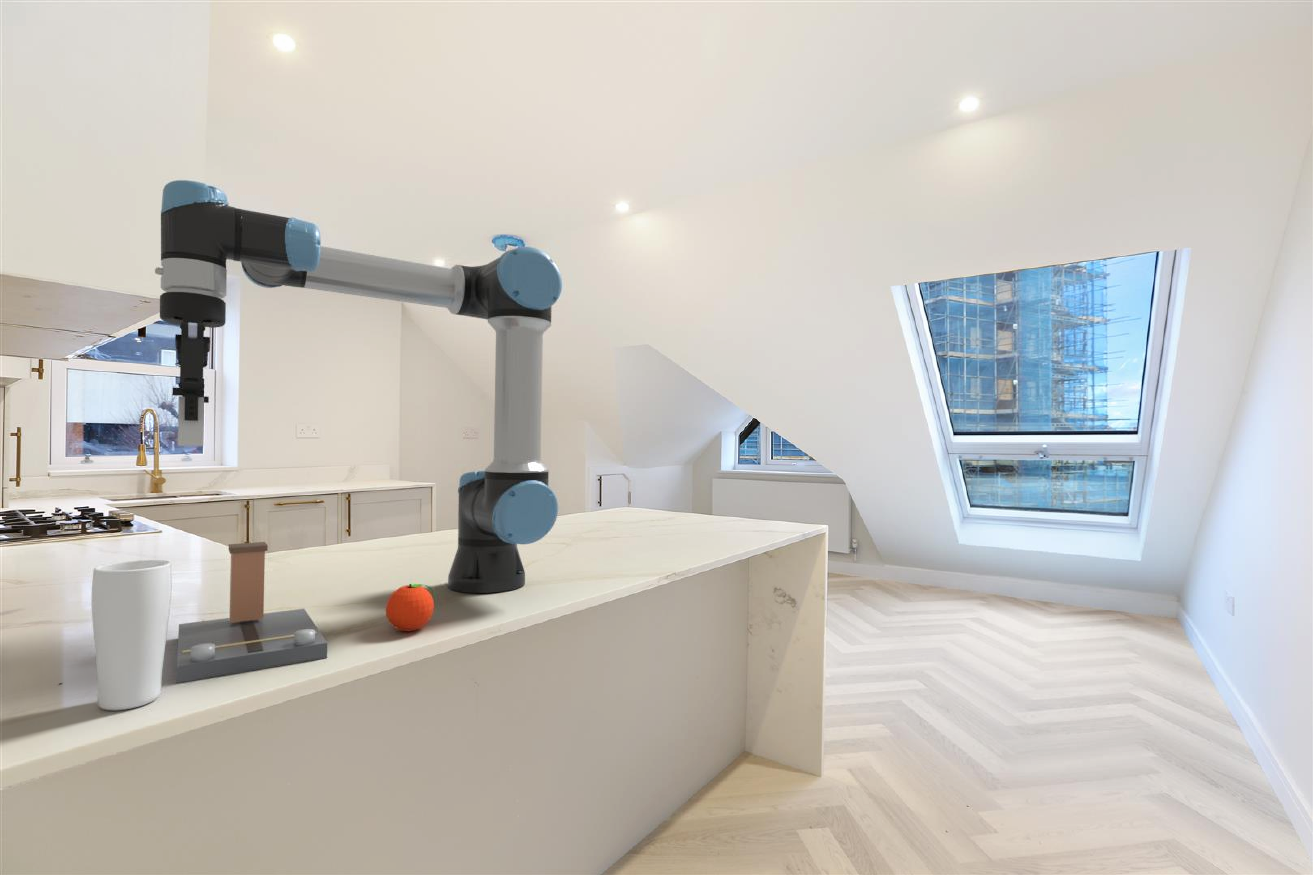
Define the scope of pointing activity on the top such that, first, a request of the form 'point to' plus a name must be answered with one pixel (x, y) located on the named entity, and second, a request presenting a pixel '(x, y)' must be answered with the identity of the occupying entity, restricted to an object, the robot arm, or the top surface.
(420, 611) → the clementine
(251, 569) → the fader tab
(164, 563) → the white tumbler
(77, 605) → the top surface
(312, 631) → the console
